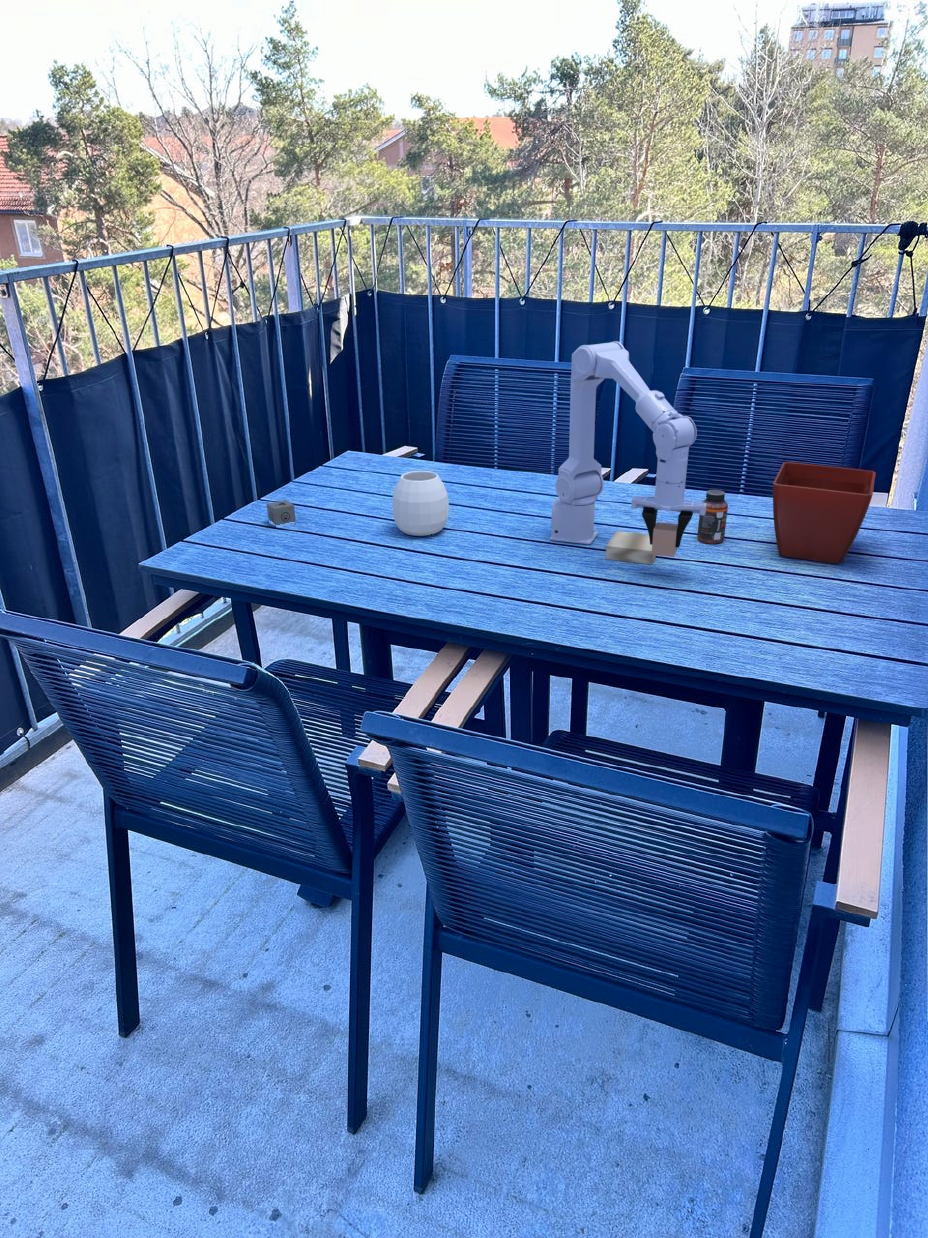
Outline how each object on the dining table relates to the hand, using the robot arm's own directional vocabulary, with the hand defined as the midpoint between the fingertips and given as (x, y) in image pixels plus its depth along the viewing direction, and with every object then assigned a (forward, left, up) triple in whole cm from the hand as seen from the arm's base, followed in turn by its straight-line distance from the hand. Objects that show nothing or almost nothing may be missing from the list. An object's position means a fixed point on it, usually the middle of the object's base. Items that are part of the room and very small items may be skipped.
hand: (664, 544), depth 181 cm
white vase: (-58, +9, -7) cm, 59 cm away
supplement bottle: (+7, +24, -7) cm, 26 cm away
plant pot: (+29, +24, -7) cm, 38 cm away
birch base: (-8, +10, -7) cm, 14 cm away
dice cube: (-92, +3, -7) cm, 93 cm away
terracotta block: (0, 0, -2) cm, 2 cm away
